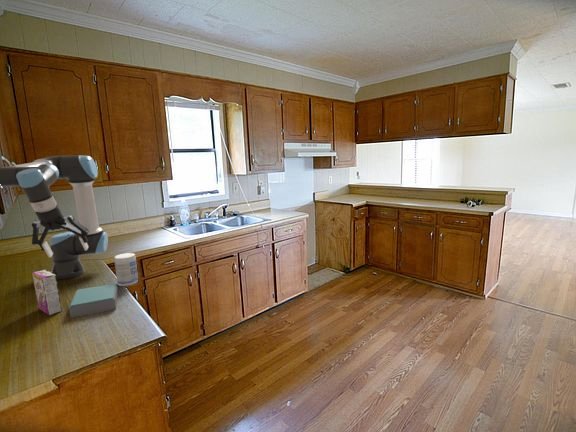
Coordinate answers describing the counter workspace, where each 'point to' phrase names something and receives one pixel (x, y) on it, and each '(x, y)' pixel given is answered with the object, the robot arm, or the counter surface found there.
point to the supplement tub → (126, 269)
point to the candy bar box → (47, 292)
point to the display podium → (94, 300)
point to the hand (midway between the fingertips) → (69, 252)
